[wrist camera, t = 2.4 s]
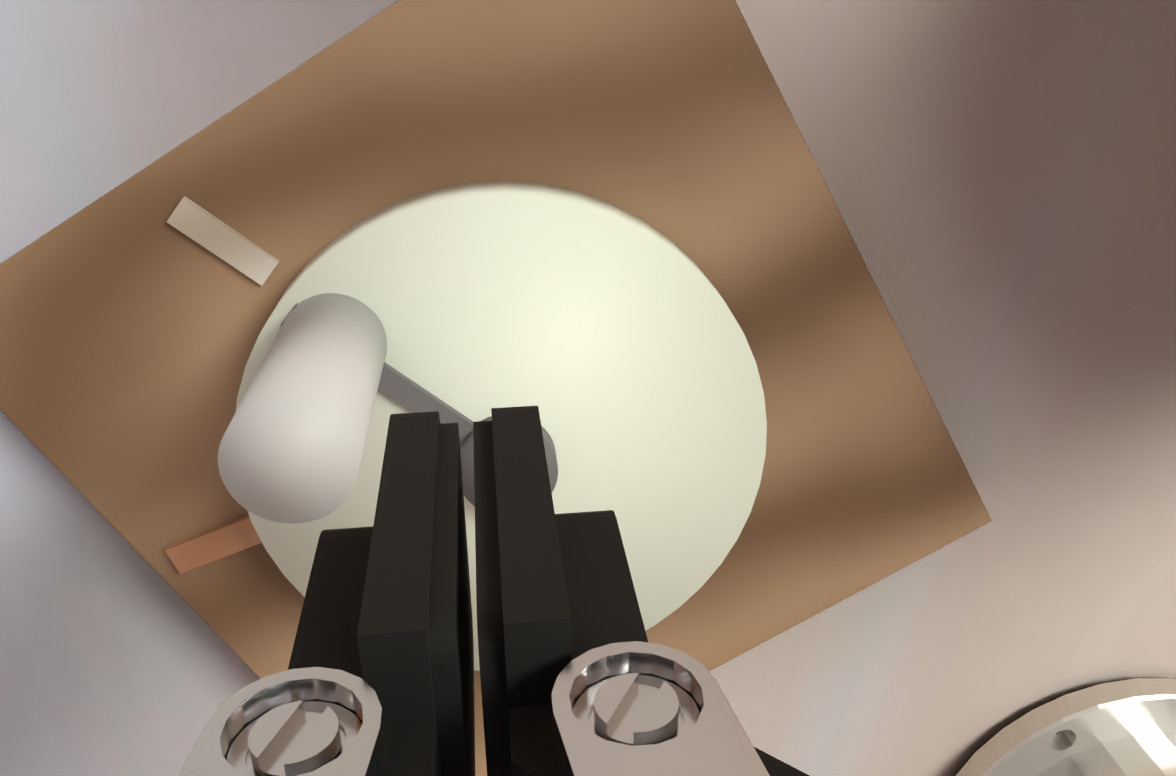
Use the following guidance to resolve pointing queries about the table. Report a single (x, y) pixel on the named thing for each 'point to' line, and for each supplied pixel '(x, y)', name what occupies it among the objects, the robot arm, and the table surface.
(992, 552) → the table surface
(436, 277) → the dial
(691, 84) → the dial base
